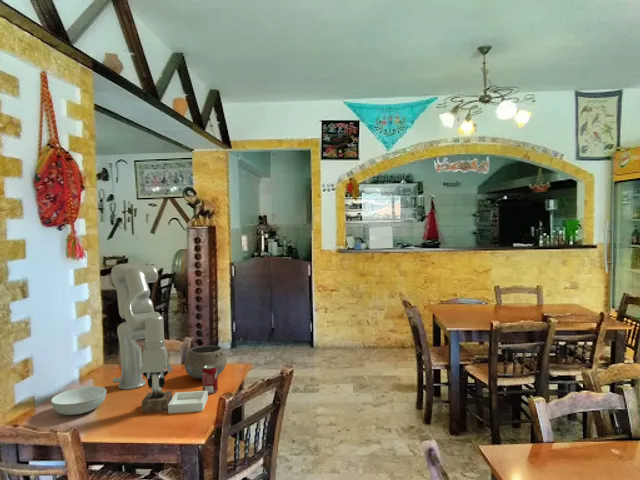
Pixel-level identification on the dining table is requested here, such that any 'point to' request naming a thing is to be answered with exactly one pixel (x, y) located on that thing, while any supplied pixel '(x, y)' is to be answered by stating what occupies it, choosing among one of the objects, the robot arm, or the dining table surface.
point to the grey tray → (188, 402)
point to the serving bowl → (78, 400)
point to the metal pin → (156, 385)
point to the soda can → (210, 378)
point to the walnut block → (156, 403)
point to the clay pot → (204, 360)
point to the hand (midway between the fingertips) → (156, 386)
